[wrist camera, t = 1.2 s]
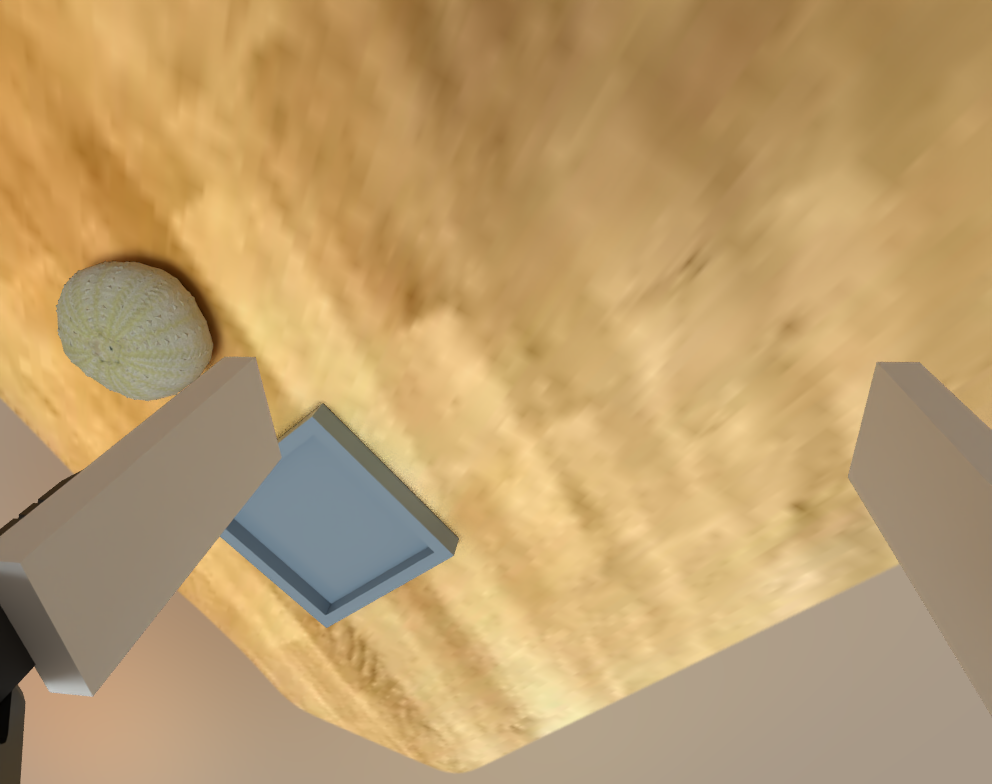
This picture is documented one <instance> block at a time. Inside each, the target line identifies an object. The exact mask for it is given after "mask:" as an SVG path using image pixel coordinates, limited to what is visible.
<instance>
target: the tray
mask: <svg viewBox="0 0 992 784" xmlns="http://www.w3.org/2000/svg"><path fill="white" fill-rule="evenodd" d="M277 442H278V445H279V449H280V453H281V457H282V458H281V459H280V461H279V462H278V463H277V464H276V466H275V467H274V468H273V469H272V471H271V472H270V473H269V474H268V476H267V477H266V478H265V479H264V481H263V482H262V483H261V485H260V486H259V487H258V488H257V490H256V491H255V492H254V493H253V495H252V496H251V497H250V498H249V500H248V501H247V502H246V504H245V505H244V506H243V507H242V509H241V510H240V511H239V512H238V514H237V515H236V516H235V517H234V519H233V520H232V521H231V523H230V524H229V525H228V526H227V528H226V529H225V530H224V531H223V533H222V534H221V535H220V537H221V538H222V539H224V540H225V541H226V542H227V543H228V544H229V545H231V546H232V547H233V548H234V549H235V550H236V551H238V552H239V553H240V554H241V555H242V556H243V557H244V558H246V559H247V560H248V561H249V562H250V563H251V564H253V565H254V566H255V567H256V568H257V569H258V570H260V571H261V572H262V573H263V574H264V575H265V576H267V577H268V578H269V579H270V580H271V581H272V582H274V583H275V584H276V585H277V586H278V587H279V588H281V589H282V590H283V591H284V592H285V593H286V594H288V595H289V596H290V597H291V598H292V599H293V600H295V601H296V602H297V603H298V604H299V605H300V606H302V607H303V608H304V609H305V610H306V611H307V612H309V613H310V614H311V615H312V616H313V617H314V618H316V619H317V620H318V621H319V622H320V623H321V624H323V625H324V626H325V627H326V628H327V627H329V626H331V625H333V624H334V623H336V622H338V621H340V620H341V619H343V618H345V617H347V616H348V615H350V614H352V613H354V612H355V611H357V610H359V609H361V608H363V607H364V606H366V605H368V604H370V603H371V602H373V601H375V600H377V599H378V598H380V597H382V596H384V595H385V594H387V593H389V592H391V591H392V590H394V589H396V588H398V587H400V586H401V585H403V584H405V583H407V582H408V581H410V580H412V579H414V578H415V577H417V576H419V575H421V574H422V573H424V572H426V571H428V570H429V569H431V568H433V567H435V566H437V565H438V564H440V563H442V562H444V561H445V560H447V559H449V558H451V557H452V556H454V553H455V550H456V547H457V543H458V540H459V538H458V537H457V536H456V535H455V534H454V533H453V532H452V531H451V530H450V529H449V528H448V527H447V526H446V525H445V524H444V523H443V522H442V521H441V520H440V519H439V518H438V517H437V516H436V515H435V514H434V513H433V512H432V511H431V510H430V509H428V508H427V507H426V506H425V505H424V504H423V503H422V502H421V501H420V500H419V499H418V498H417V497H416V496H415V495H414V494H413V493H412V492H411V491H410V490H409V489H408V488H407V487H406V486H405V485H404V484H403V483H402V482H401V481H400V480H399V479H398V478H397V477H396V476H395V475H394V474H393V473H392V472H391V471H390V470H389V469H388V468H387V467H386V466H385V465H384V464H383V463H382V462H381V461H380V460H379V459H378V458H377V457H376V456H375V455H374V454H373V453H372V452H371V451H370V450H369V449H368V448H367V447H366V446H365V445H364V444H363V443H362V442H361V441H360V440H359V439H358V438H357V437H356V436H355V435H354V434H353V433H352V432H351V431H350V430H349V429H348V428H347V427H346V426H345V425H344V424H343V423H342V422H341V421H340V420H339V419H338V418H337V417H336V416H335V415H334V414H333V413H332V412H331V411H330V410H329V409H328V408H327V407H326V406H325V405H324V404H323V403H322V404H321V405H320V406H319V407H317V408H316V409H315V410H314V411H312V412H311V413H310V414H309V415H307V416H306V417H305V418H304V419H302V420H301V421H300V422H299V423H297V424H296V425H295V426H293V427H292V428H291V429H290V430H288V431H287V432H286V433H285V434H283V435H282V436H281V437H280V438H278V439H277Z"/></svg>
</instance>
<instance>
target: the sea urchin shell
mask: <svg viewBox="0 0 992 784" xmlns="http://www.w3.org/2000/svg"><path fill="white" fill-rule="evenodd" d="M56 307H57V310H56V312H57V315H58V332H59V333H58V335H59V336H60V338H61V341H62V345H63V349H64V352H65V354H66V355H67V356H68V358H69V359H70V360H71V362H72V363H74V364H75V365H76V366H78V367H79V368H80V369H81V370H82V371H83V372H84V373H85V375H86V376H89V377H91V378H93V379H94V380H96V381H97V382H99V383H100V384H102V385H103V386H105V387H106V388H107V389H109V390H110V391H111V390H112V391H114V392H118V393H120V394H122V395H124V396H126V397H127V398H128V397H129V398H131V399H134V400H137V399H138V400H146V401H149V400H157V399H160V398H164V397H167V396H171V395H177V393H178V392H180V391H182V390H183V389H184V388H185V387H187V386H188V385H190V384H191V383H192V382H194V381H195V380H196V379H197V378H199V377H200V375H201V373H202V372H203V371H204V369H205V367H206V366H207V365H208V363H209V362H210V360H211V357H212V349H213V342H212V338H211V335H210V332H209V329H208V325H207V321H206V320H205V318H204V316H203V314H202V313H201V311H200V310H199V307H198V306H197V303H196V302H195V298H194V297H193V296H191V294H190V292H188V291H187V290H186V289H185V288H184V287H183V285H182V284H181V283H180V282H179V280H178V279H177V278H175V277H173V276H172V275H170V274H169V273H167V272H165V270H162V269H159V268H155V267H151V266H148V265H145V264H141V263H140V262H137V263H136V262H128V261H127V262H116V261H113V262H106V261H105V262H104V263H100V264H97V265H95V266H91V267H89V268H85V269H83V270H79V271H78V272H77V273H75V274H74V276H72V278H69V281H68V282H67V283H66V284H64V288H63V290H62V293H61V296H60V299H59V300H58V305H56Z"/></svg>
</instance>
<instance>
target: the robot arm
mask: <svg viewBox="0 0 992 784" xmlns="http://www.w3.org/2000/svg"><path fill="white" fill-rule="evenodd" d="M281 458H282V457H281V453H280V449H279V445H278V442H277V438H276V434H275V430H274V426H273V422H272V419H271V415H270V411H269V407H268V403H267V399H266V396H265V392H264V388H263V384H262V380H261V376H260V373H259V369H258V365H257V361H256V357H224V358H222V359H221V360H220V361H219V362H217V363H216V364H215V365H214V366H212V367H211V368H210V369H209V370H207V371H206V372H205V373H204V374H202V375H201V376H200V377H199V378H197V379H196V380H195V381H194V382H192V383H191V384H190V385H189V386H187V387H186V388H185V389H184V390H182V391H181V392H180V393H179V394H177V395H176V396H175V397H174V398H172V399H171V400H170V401H169V402H167V403H166V404H165V405H164V406H162V407H161V408H160V409H159V410H157V411H156V412H155V413H154V414H152V415H151V416H150V417H149V418H147V419H146V420H145V421H144V422H142V423H141V424H140V425H139V426H137V427H136V428H135V429H134V430H132V431H131V432H130V433H129V434H127V435H126V436H125V437H124V438H122V439H121V440H120V441H119V442H117V443H116V444H115V445H114V446H112V447H111V448H110V449H109V450H107V451H106V452H105V453H104V454H102V455H101V456H100V457H99V458H97V459H96V460H95V461H94V462H92V463H91V464H90V465H89V466H87V467H86V468H85V469H83V470H81V471H80V472H78V473H76V474H74V475H72V476H70V477H68V478H66V479H64V480H62V481H61V482H59V483H58V484H57V485H56V486H55V487H53V488H52V489H51V490H49V491H48V492H47V493H46V494H44V495H43V496H42V497H40V498H39V499H38V503H33V504H32V505H30V506H29V507H28V508H27V509H25V510H24V511H23V512H22V513H20V514H19V518H18V519H13V520H11V521H10V522H9V523H7V524H6V525H5V526H4V527H2V528H1V529H0V784H20V777H21V762H22V746H23V731H24V714H25V699H24V696H23V692H22V691H21V689H20V688H19V686H18V683H19V682H20V681H21V680H22V679H23V678H24V677H25V676H26V675H27V674H28V673H29V671H30V670H31V669H32V668H33V667H35V668H36V670H37V672H38V673H39V675H40V676H41V678H42V680H43V682H44V683H45V685H46V687H47V688H48V690H49V691H50V692H53V693H63V694H73V695H83V696H94V695H95V693H96V692H97V691H98V690H99V688H100V687H101V686H102V685H103V683H104V682H105V681H106V679H107V678H108V677H109V676H110V674H111V673H112V672H113V671H114V669H115V668H116V667H117V666H118V664H119V663H120V662H121V660H122V659H123V658H124V657H125V655H126V654H127V653H128V652H129V650H130V649H131V648H132V646H133V645H134V644H135V642H136V641H137V640H138V639H139V638H140V636H141V635H142V634H143V633H144V631H145V630H146V629H147V628H148V626H149V625H150V624H151V622H152V621H153V620H154V619H155V617H156V616H157V615H158V613H159V612H160V611H161V610H162V609H163V607H164V606H165V605H166V603H167V602H168V601H169V600H170V598H171V597H172V596H173V595H174V593H175V592H176V591H177V590H178V588H179V587H180V586H181V585H182V583H183V582H184V581H185V579H186V578H187V577H188V576H189V574H190V573H191V572H192V571H193V569H194V568H195V567H196V566H197V564H198V563H199V562H200V560H201V559H202V558H203V557H204V555H205V554H206V553H207V552H208V550H209V549H210V548H211V547H212V545H213V544H214V543H215V542H216V540H217V539H218V538H219V536H220V535H221V534H222V533H223V531H224V530H225V529H226V528H227V526H228V525H229V524H230V523H231V521H232V520H233V519H234V517H235V516H236V515H237V514H238V512H239V511H240V510H241V509H242V507H243V506H244V505H245V504H246V502H247V501H248V500H249V498H250V497H251V496H252V495H253V493H254V492H255V491H256V490H257V488H258V487H259V486H260V485H261V483H262V482H263V481H264V479H265V478H266V477H267V476H268V474H269V473H270V472H271V471H272V469H273V468H274V467H275V466H276V464H277V463H278V462H279V461H280V459H281ZM848 478H849V480H850V482H851V483H852V485H853V487H854V488H855V490H856V492H857V493H858V495H859V497H860V498H861V500H862V502H863V503H864V505H865V507H866V508H867V510H868V512H869V513H870V515H871V517H872V518H873V520H874V522H875V523H876V525H877V527H878V528H879V530H880V532H881V533H882V535H883V537H884V538H885V540H886V541H887V543H888V545H889V546H890V548H891V550H892V551H893V553H894V555H895V556H896V558H897V560H898V561H899V563H900V565H901V566H902V568H903V570H904V571H905V573H906V575H907V576H908V578H909V580H910V581H911V583H912V585H913V586H914V588H915V590H916V591H917V593H918V595H919V596H920V598H921V600H922V601H923V603H924V605H925V606H926V608H927V610H928V611H929V613H930V615H931V616H932V618H933V619H934V621H935V623H936V625H937V626H938V628H939V630H940V631H941V633H942V635H943V636H944V638H945V640H946V641H947V643H948V645H949V646H950V648H951V650H952V651H953V653H954V655H955V656H956V658H957V660H958V661H959V663H960V665H961V666H962V668H963V670H964V671H965V673H966V674H967V676H968V678H969V680H970V681H971V683H972V685H973V686H974V688H975V689H976V691H977V693H978V694H979V696H980V698H981V699H982V701H983V703H984V704H985V706H986V708H987V710H988V711H989V713H990V714H991V716H992V430H991V429H990V428H989V427H988V426H987V425H986V424H985V423H984V422H982V421H981V420H980V419H979V418H978V417H977V416H976V415H975V414H974V413H973V412H972V411H971V410H970V409H969V408H968V407H966V406H965V405H964V404H963V403H962V402H961V401H960V400H959V399H958V398H957V397H956V396H955V395H954V394H953V393H952V392H950V391H949V390H948V389H947V388H946V387H945V386H944V385H943V384H942V383H941V382H940V381H939V380H938V379H937V378H936V377H935V376H933V375H932V374H931V373H930V372H929V371H928V370H927V369H926V368H925V367H924V366H923V365H922V364H921V363H920V362H877V363H876V367H875V371H874V375H873V379H872V383H871V387H870V391H869V395H868V399H867V403H866V407H865V411H864V415H863V419H862V423H861V427H860V431H859V434H858V438H857V442H856V446H855V450H854V454H853V458H852V462H851V466H850V470H849V474H848Z"/></svg>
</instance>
